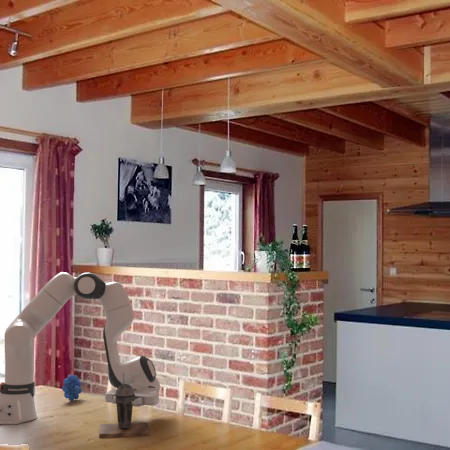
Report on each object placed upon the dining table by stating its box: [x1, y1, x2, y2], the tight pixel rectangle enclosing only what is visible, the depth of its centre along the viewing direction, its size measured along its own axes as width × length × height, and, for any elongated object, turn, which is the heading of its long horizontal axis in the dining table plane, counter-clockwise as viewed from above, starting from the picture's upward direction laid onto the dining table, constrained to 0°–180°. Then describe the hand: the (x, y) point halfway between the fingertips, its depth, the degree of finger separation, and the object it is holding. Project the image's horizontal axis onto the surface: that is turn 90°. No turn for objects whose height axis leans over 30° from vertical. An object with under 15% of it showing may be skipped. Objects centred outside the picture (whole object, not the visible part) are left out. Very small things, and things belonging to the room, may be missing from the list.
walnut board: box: [98, 422, 150, 438], centre depth 250 cm, size 18×14×1 cm
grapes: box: [61, 374, 83, 402], centre depth 299 cm, size 12×7×12 cm, turn 150°
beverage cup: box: [115, 373, 135, 428], centre depth 251 cm, size 7×7×20 cm
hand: (123, 402), depth 250 cm, fingers closed on beverage cup, 6 cm apart
